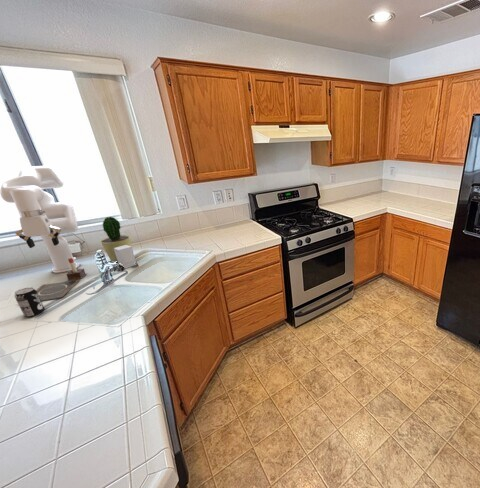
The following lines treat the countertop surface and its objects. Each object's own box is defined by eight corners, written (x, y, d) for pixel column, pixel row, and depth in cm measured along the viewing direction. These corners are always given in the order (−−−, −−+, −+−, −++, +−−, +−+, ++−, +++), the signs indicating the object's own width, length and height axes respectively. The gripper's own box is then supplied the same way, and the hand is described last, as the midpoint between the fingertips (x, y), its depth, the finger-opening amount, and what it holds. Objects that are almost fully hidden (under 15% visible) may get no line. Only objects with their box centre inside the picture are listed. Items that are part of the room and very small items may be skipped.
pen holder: (73, 276, 154) (70, 270, 153) (86, 274, 156) (83, 268, 155) (68, 280, 149) (65, 274, 147) (81, 278, 151) (79, 272, 149)
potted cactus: (113, 266, 166) (98, 220, 156) (103, 261, 174) (88, 217, 164) (139, 258, 178) (127, 215, 168) (129, 253, 186) (117, 212, 176)
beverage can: (44, 307, 124) (34, 285, 120) (46, 312, 120) (35, 289, 116) (23, 314, 119) (12, 291, 115) (25, 319, 115) (13, 296, 111)
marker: (76, 277, 153) (68, 258, 149) (80, 276, 154) (73, 257, 149) (74, 278, 151) (67, 259, 147) (78, 277, 152) (71, 259, 148)
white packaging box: (137, 264, 168) (132, 246, 164) (124, 269, 162) (118, 250, 158) (131, 262, 172) (126, 244, 168) (118, 266, 166) (113, 247, 162)
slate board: (43, 285, 144) (43, 284, 143) (80, 280, 149) (79, 279, 149) (20, 304, 126) (19, 303, 126) (62, 298, 132) (61, 296, 131)
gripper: (57, 210, 135) (69, 241, 141) (13, 213, 129) (27, 245, 136) (49, 214, 129) (61, 246, 135) (2, 217, 123) (17, 250, 129)
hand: (44, 245), depth 135 cm, fingers open, 9 cm apart
